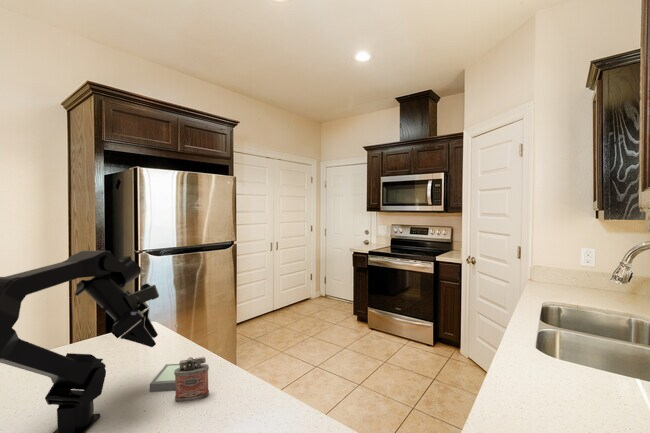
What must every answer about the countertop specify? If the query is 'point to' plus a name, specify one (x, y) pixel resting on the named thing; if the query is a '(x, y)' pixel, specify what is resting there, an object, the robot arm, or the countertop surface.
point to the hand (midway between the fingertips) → (155, 340)
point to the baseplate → (165, 378)
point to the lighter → (191, 380)
